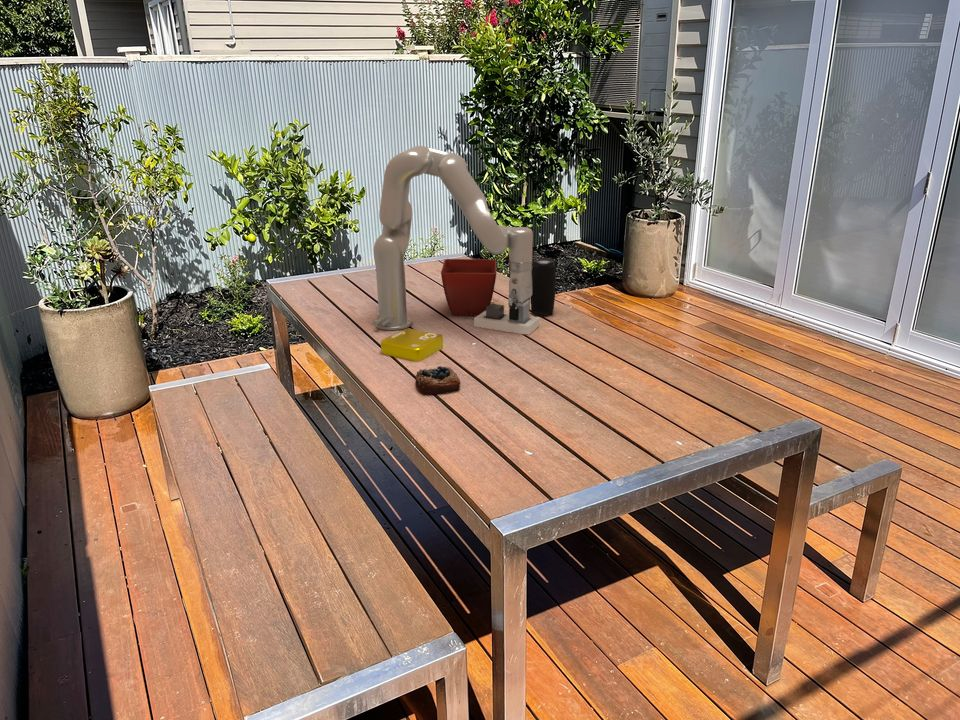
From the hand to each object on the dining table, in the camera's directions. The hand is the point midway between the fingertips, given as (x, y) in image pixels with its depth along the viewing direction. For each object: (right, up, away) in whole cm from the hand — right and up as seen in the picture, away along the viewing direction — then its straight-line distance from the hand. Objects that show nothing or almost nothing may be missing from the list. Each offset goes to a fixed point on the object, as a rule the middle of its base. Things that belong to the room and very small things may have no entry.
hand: (519, 315), depth 236 cm
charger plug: (0, -4, +1) cm, 4 cm away
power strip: (-2, -2, +7) cm, 7 cm away
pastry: (-25, -23, -42) cm, 54 cm away
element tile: (-34, -12, -17) cm, 40 cm away
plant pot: (-17, +3, +19) cm, 26 cm away
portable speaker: (+9, +2, +16) cm, 19 cm away
